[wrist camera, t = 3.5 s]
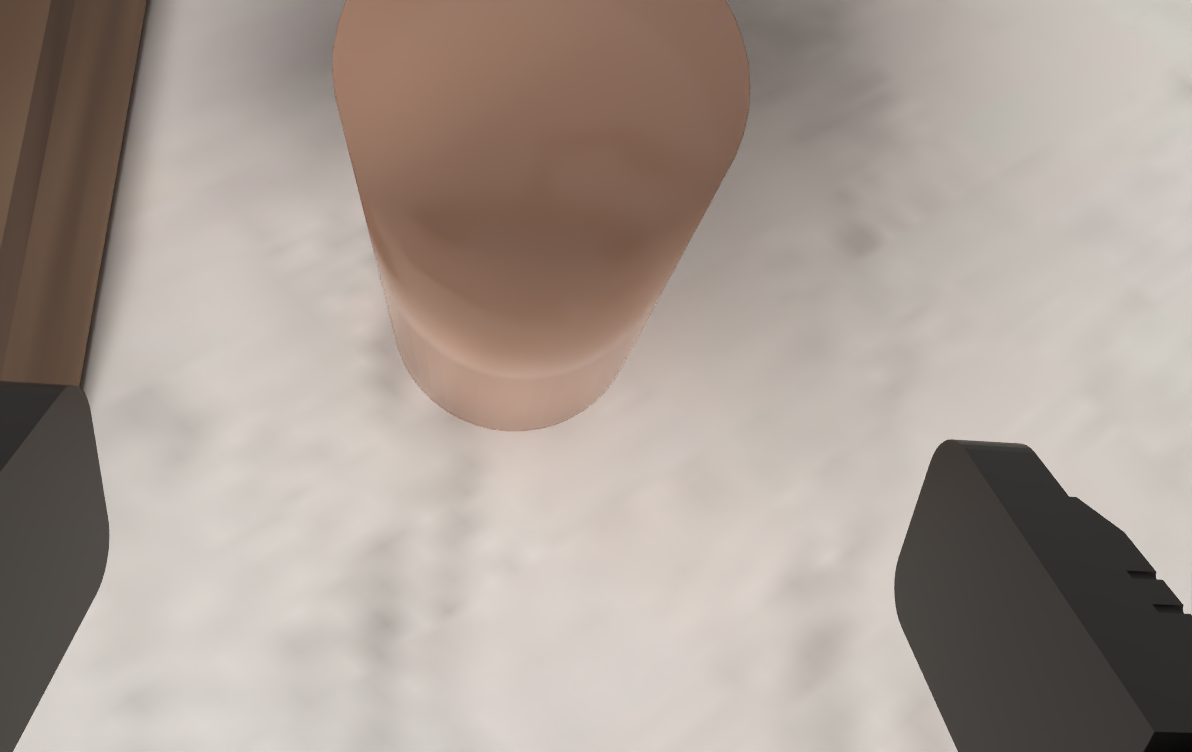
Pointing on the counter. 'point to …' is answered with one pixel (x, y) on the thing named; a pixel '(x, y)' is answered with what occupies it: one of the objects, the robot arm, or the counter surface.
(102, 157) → the square brown tray
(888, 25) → the counter surface
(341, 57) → the tan cylinder
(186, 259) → the counter surface
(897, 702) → the counter surface
